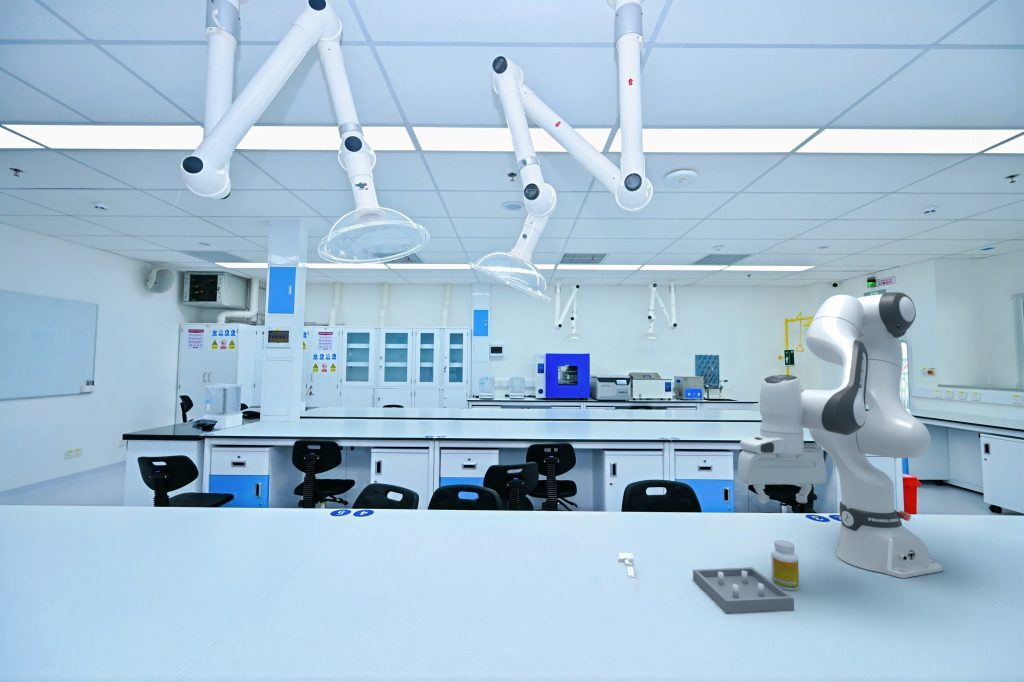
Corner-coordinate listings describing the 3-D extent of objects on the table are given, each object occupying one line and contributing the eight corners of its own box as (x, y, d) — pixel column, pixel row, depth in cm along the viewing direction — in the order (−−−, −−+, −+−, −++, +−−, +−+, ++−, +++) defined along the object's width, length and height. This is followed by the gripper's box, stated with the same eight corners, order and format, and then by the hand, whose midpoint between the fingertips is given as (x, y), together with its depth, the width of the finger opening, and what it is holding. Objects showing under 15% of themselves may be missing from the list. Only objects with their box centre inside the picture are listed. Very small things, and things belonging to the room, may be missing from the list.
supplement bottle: (803, 592, 100) (802, 548, 101) (777, 589, 101) (776, 546, 102) (793, 580, 106) (792, 539, 106) (768, 578, 107) (767, 537, 107)
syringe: (649, 595, 99) (649, 588, 99) (628, 594, 100) (628, 587, 100) (633, 557, 119) (633, 550, 119) (615, 556, 120) (615, 550, 120)
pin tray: (752, 577, 107) (752, 563, 107) (794, 610, 93) (793, 593, 93) (693, 580, 106) (692, 565, 106) (726, 613, 92) (726, 596, 92)
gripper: (812, 441, 109) (813, 498, 108) (733, 441, 107) (734, 499, 107) (833, 445, 103) (834, 506, 102) (749, 445, 101) (750, 507, 100)
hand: (782, 502), depth 104 cm, fingers open, 8 cm apart
